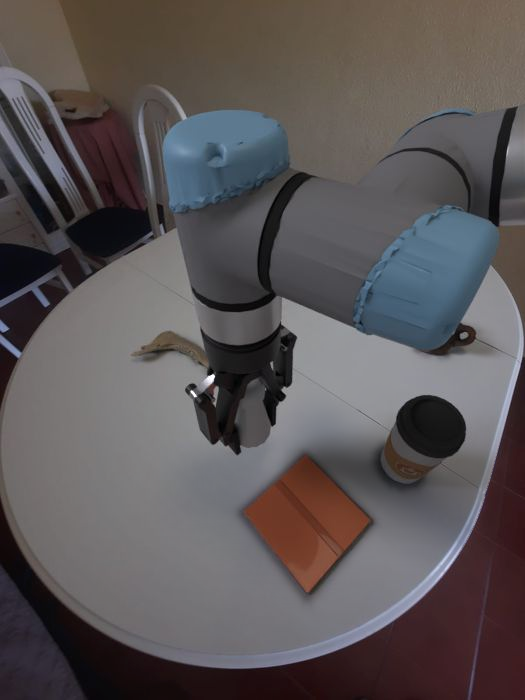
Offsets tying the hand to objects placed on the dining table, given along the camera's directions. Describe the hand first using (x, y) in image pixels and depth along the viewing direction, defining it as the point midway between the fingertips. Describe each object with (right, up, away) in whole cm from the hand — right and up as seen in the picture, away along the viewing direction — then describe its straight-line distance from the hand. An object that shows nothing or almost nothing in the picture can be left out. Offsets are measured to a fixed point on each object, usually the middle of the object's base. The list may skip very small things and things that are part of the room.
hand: (251, 432), depth 49 cm
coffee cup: (+24, -7, +6) cm, 25 cm away
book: (+8, -13, +1) cm, 15 cm away
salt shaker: (0, -1, +1) cm, 1 cm away
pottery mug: (+38, +14, +22) cm, 46 cm away
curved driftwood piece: (-15, +8, +19) cm, 26 cm away
